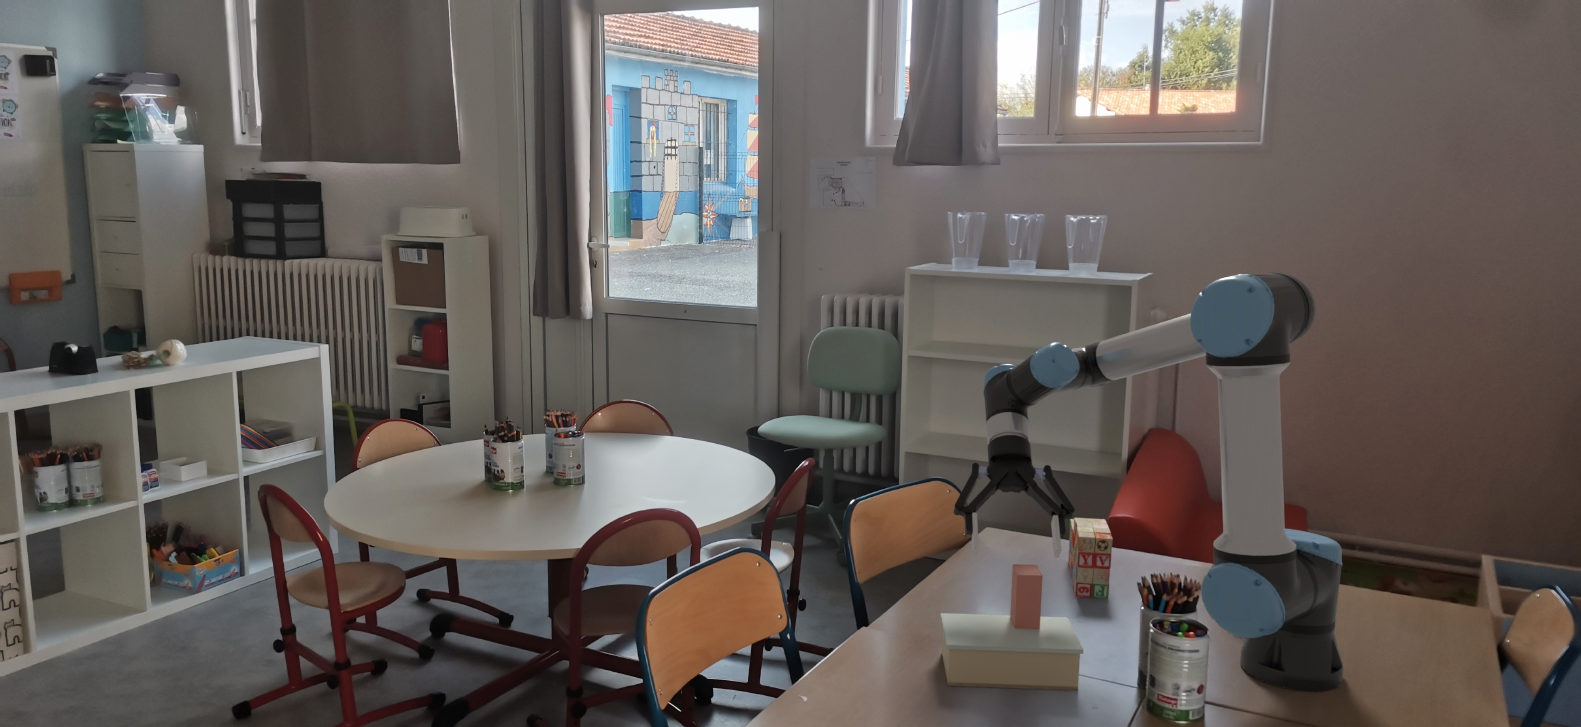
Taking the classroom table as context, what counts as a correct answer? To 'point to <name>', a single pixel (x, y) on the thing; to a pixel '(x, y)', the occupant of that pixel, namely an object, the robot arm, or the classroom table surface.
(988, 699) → the classroom table surface
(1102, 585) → the stack of blocks
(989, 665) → the carton
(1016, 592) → the lid
